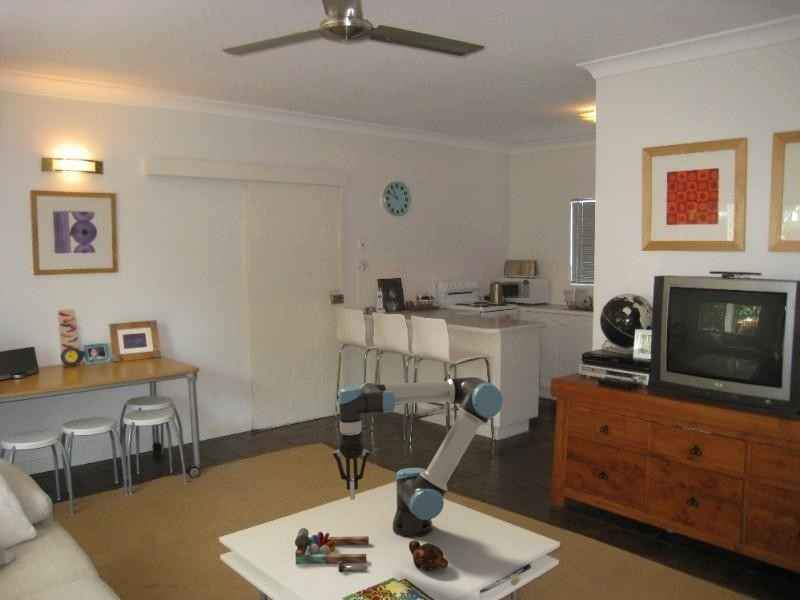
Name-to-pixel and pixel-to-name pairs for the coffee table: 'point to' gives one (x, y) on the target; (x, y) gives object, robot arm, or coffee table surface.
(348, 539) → the bay
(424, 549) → the decorative turtle
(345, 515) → the coffee table surface
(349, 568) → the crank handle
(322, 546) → the rainbow sensory ball
